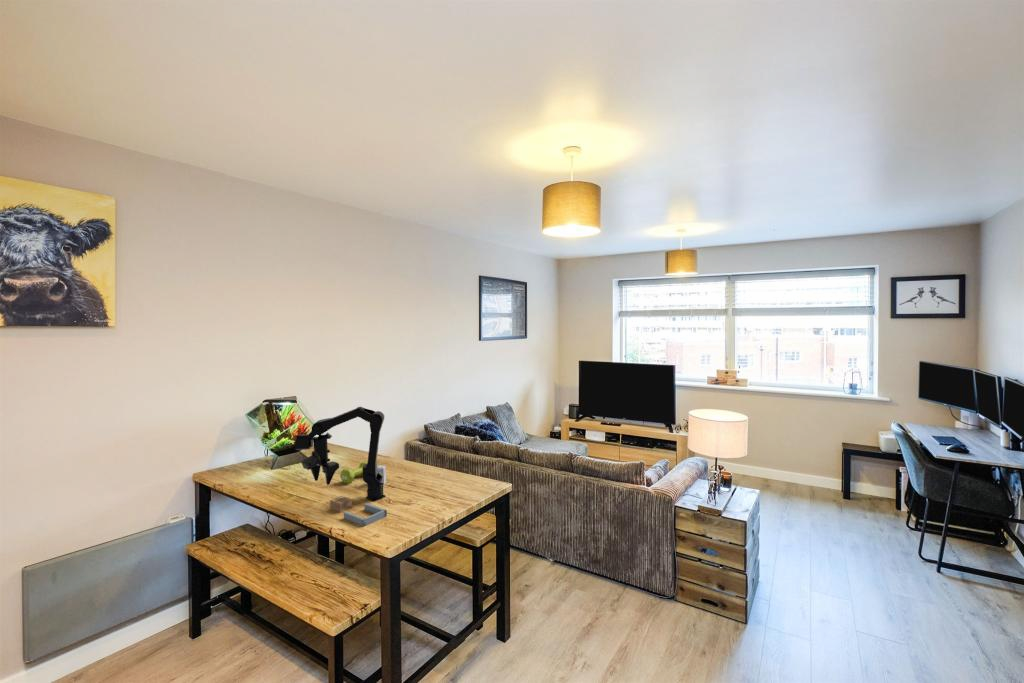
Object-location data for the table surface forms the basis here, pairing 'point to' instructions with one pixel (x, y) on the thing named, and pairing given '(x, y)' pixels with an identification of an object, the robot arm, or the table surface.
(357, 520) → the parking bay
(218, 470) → the table surface
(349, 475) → the dumbbell
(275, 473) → the table surface
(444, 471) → the table surface
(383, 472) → the medicine box
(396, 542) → the table surface
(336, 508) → the block
